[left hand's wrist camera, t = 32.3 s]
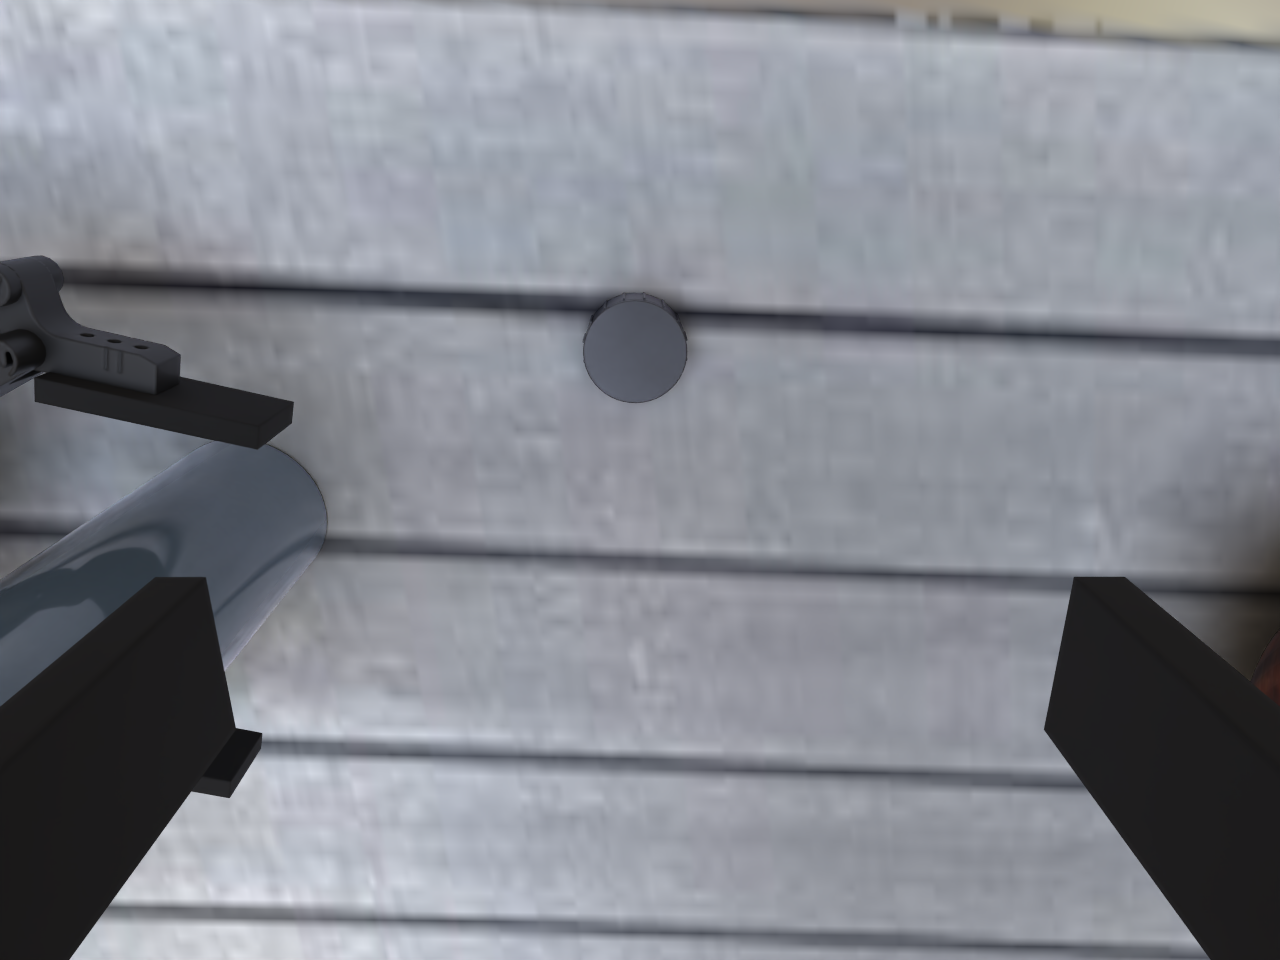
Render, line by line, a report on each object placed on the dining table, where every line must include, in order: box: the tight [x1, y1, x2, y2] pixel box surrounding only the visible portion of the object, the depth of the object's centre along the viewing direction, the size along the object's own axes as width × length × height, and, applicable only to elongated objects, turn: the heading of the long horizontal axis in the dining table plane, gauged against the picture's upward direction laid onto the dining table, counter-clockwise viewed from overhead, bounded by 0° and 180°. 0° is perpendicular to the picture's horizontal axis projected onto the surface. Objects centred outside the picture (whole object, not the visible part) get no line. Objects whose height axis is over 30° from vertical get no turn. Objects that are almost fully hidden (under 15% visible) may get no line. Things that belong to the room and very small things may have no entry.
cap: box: [583, 292, 687, 403], centre depth 31 cm, size 4×4×2 cm
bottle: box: [0, 441, 327, 706], centre depth 24 cm, size 6×6×24 cm
